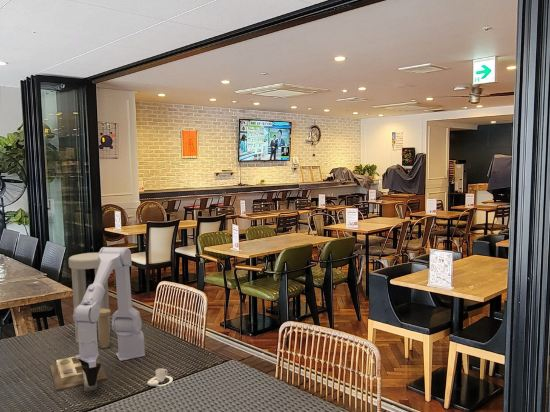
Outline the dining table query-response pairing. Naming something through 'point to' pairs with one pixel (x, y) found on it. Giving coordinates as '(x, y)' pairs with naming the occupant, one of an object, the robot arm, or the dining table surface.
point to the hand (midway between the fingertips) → (90, 380)
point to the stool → (79, 281)
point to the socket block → (71, 373)
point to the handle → (104, 327)
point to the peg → (86, 386)
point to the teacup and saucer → (159, 378)
